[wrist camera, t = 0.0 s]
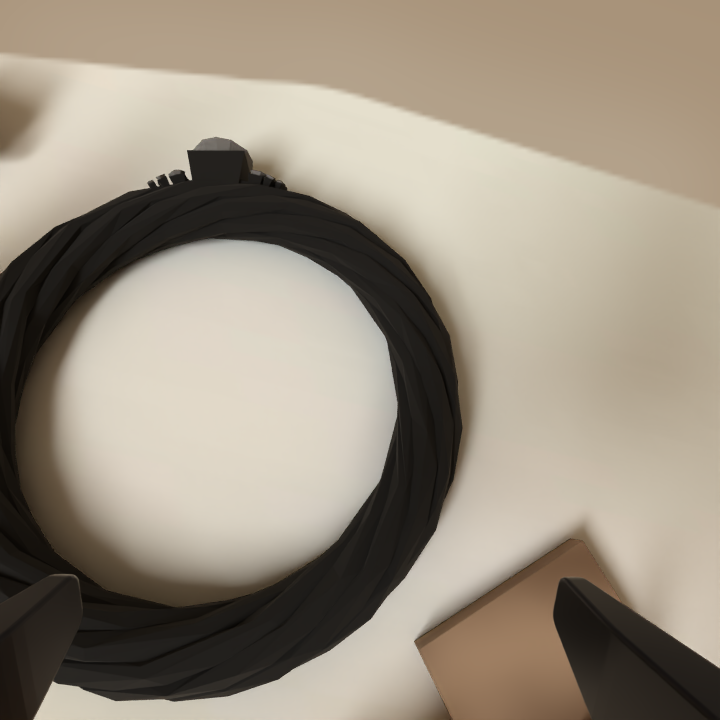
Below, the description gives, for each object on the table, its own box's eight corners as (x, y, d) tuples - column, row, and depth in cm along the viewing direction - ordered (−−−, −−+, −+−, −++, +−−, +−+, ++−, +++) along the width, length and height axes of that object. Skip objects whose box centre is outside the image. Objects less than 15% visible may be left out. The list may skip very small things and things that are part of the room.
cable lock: (-213, 761, 15) (-21, 130, 24) (-107, 710, 19) (24, 178, 28) (516, 685, 17) (433, 134, 27) (484, 653, 21) (421, 177, 30)
